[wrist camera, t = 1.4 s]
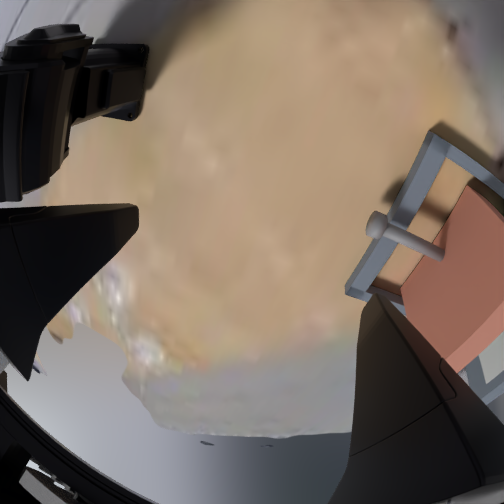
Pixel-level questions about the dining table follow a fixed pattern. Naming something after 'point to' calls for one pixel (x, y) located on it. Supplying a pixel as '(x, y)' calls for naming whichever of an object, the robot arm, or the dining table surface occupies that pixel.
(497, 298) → the sliding jaw
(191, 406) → the dining table surface
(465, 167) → the vise body
